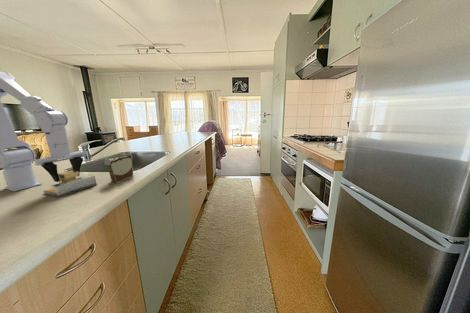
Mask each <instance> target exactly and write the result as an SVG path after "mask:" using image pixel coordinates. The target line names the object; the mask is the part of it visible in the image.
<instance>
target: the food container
mask: <svg viewBox="0 0 470 313" xmlns="http://www.w3.org/2000/svg"><path fill="white" fill-rule="evenodd" d="M133 158H134V157H133V154H132V153H123V154H117V155H112V156H108V157H106V158H104V163H103V164H104V165H105V166H106V167H107V170H108V173H109V176H110V180H111V182H112V183H113V184H117V183H120V182H122V180H123V181H124V180H127V179H129V178H131V176H132V177H133V176H134V168H133V166H134V165H133Z"/></svg>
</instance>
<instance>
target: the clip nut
mask: <svg viewBox="0 0 470 313" xmlns="http://www.w3.org/2000/svg"><path fill="white" fill-rule="evenodd" d="M57 173H58V176H59V180H60V181H59V182H58V184H59V183H62V182H66V181H69V180H73V179H76V178H77V177H79V176H78V175H79V171H73V169H72V170H67V171H63V172H57Z"/></svg>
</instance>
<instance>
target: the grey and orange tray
mask: <svg viewBox="0 0 470 313" xmlns="http://www.w3.org/2000/svg"><path fill="white" fill-rule="evenodd" d="M97 185H98V184H97V179H96V175H94V174H93V175H91V174H87V175H84V176H81V177H80V176H79V177H76V179H73V180H69V181H66V182H62V183H59V182H58V183H56V184H55V183H54V184H51V185H50V187H51V188H50V189H46V190H43V194H44V195H48V196H52V197H55V198H62V197H65V196H68V195H71V194H74V193H78V192H80V191H83V190H86V189H89V188H92V187H94V186H97Z"/></svg>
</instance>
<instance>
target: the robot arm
mask: <svg viewBox="0 0 470 313" xmlns="http://www.w3.org/2000/svg"><path fill="white" fill-rule="evenodd" d="M16 80H17V79H16V78H15V76H13V75H12V74H11V73H9V72H8V71H1V70H0V99H1V98H2V97H6V96H7V95H8V94H9V95H10V96H12V97H13V98H14V99H16V100H18V101H19V102H20V106H21V107H22V108H23V109H24V110H25V111H27V112H28V113H29V114H30V115H32V116H33V117H34V118H36V119H35V121H36V123H37V124H38V126H39V127H40V128H41V131H42V133H44V135H45V139H46V143H47V146H48V151H49V154H50V156H47V157H42V158H37V159H36V157H37V156H36V152H35V151H34V149H32V147H31V146H30V144H29V143H28V142H26V141H23V140H21V139H19V137H18V135H17V133H16V131H15V128H14V126H13V124H12V123H11V120H10V117H9V116H8V114H7V112H6V109H5V108H4V105H3V103H2V101H1V100H0V169H3V171H2V174H3V175H2V176H3V178H4V180H5V184H6V186H4V187H3V189H5V190H8V191H12V192H17V191H21V190H25V189H28V188H32V187H33V188H34V187H35V186H40V185H42V184H43V183H42V182H39V181H37V178H36V175H35V171H34V168H33V164H34V165H35V166H41V167H42V168H43V169H44V170H45V171H46V172H47V173H48V174H49V175H50V177H51V178H52V180H53V181H54V182H55V183H59V181H60V180H59V176H58V173H59V172H58V164H55V163H56V162H62V161H68V160H69V163H70V164H71V167H72V171H79V175H78V176H77V177H80V173H81V167H82V164H83V162H84V157H85V158H86V152H85V151H78V152H72V150H71V146H70V142H69V138H68V132H67V129H66V126H67V125H68V123H69V122H68V121H69V119H68V116H67V114H66V113H65V112H64V111H63V110H57V109H54V108H53V107H52V106H50V105H49V104H47V103H46V102H45V101H44V100H43V99H42V98H41V97H40V96H35V95H30V93H28V92H27V91H26V90H25V89H24V88H22V86H20V84H18V83H17V81H16Z"/></svg>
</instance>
